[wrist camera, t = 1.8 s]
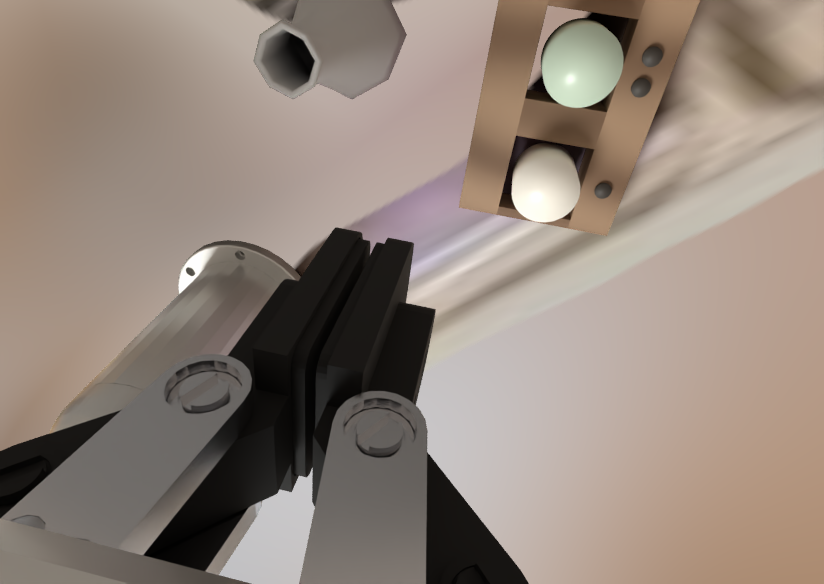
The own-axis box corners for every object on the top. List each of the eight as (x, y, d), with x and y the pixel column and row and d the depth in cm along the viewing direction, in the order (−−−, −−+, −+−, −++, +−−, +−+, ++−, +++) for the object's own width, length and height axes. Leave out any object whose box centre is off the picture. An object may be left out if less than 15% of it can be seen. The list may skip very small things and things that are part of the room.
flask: (338, -65, 29) (265, -75, 20) (427, 34, 31) (393, 61, 22) (272, 35, 32) (187, 61, 24) (355, 117, 34) (303, 167, 26)
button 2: (600, 99, 30) (607, 113, 27) (533, 88, 30) (534, 101, 27) (624, 24, 27) (635, 31, 25) (551, 12, 28) (555, 19, 25)
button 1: (565, 206, 34) (568, 227, 31) (506, 195, 34) (505, 215, 31) (584, 148, 31) (589, 166, 29) (520, 137, 32) (520, 154, 29)
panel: (601, 219, 35) (607, 237, 33) (462, 193, 36) (458, 208, 34) (745, -158, 24) (768, -170, 21) (535, -185, 24) (536, -199, 22)
